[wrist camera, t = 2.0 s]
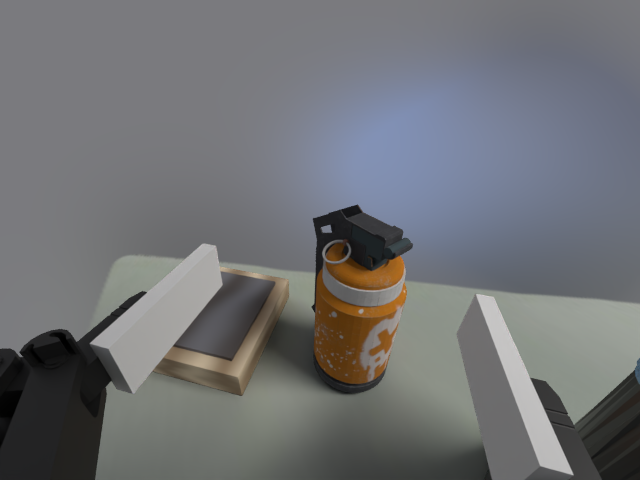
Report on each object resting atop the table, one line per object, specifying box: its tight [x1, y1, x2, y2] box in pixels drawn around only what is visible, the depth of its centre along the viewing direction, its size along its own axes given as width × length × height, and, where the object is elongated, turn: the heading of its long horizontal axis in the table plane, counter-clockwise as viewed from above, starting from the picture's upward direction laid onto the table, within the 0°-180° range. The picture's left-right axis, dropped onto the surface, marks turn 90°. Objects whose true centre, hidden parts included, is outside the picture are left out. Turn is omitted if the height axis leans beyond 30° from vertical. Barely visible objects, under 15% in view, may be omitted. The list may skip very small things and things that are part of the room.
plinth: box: [153, 267, 289, 396], centre depth 37 cm, size 16×16×4 cm
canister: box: [312, 205, 413, 393], centre depth 30 cm, size 9×11×20 cm
